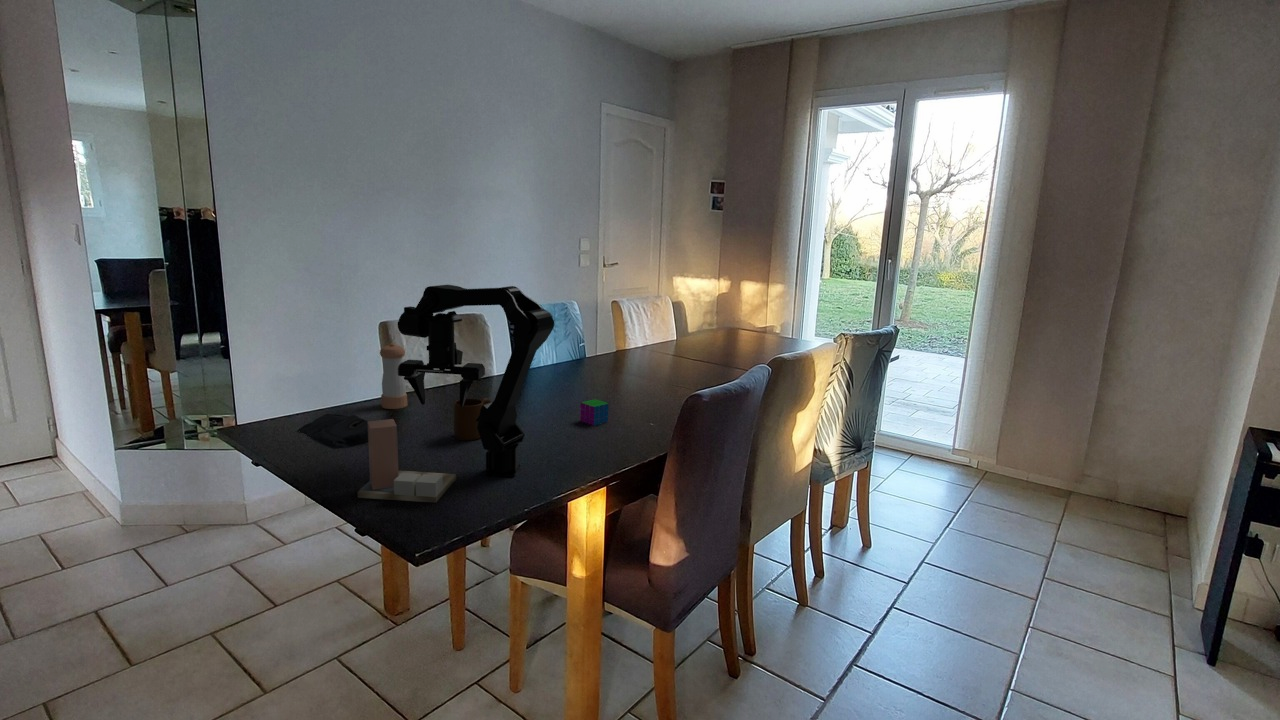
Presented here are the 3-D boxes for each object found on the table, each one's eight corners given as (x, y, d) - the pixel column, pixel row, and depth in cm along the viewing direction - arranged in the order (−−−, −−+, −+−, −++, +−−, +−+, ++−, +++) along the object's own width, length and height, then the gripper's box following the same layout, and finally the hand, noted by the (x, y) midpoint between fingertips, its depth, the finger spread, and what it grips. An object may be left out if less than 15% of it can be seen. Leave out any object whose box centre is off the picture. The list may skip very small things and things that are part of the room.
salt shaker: (376, 406, 186) (373, 343, 182) (393, 401, 193) (391, 340, 189) (395, 410, 184) (393, 346, 180) (412, 404, 191) (410, 342, 187)
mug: (479, 425, 174) (479, 393, 172) (501, 431, 170) (501, 397, 168) (447, 437, 163) (447, 402, 161) (469, 443, 160) (469, 407, 158)
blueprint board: (455, 479, 137) (455, 473, 137) (435, 502, 126) (435, 496, 125) (384, 474, 138) (384, 468, 138) (357, 497, 126) (357, 491, 126)
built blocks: (442, 489, 129) (442, 475, 129) (435, 497, 125) (435, 483, 125) (402, 486, 130) (402, 472, 129) (394, 494, 126) (393, 480, 125)
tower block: (395, 477, 133) (393, 418, 131) (398, 486, 129) (396, 425, 126) (370, 480, 131) (367, 421, 128) (372, 489, 127) (370, 428, 124)
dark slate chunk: (348, 419, 175) (347, 403, 174) (395, 437, 163) (395, 419, 162) (292, 432, 163) (291, 415, 162) (339, 452, 151) (338, 433, 150)
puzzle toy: (608, 422, 183) (608, 403, 181) (593, 426, 178) (594, 406, 177) (594, 417, 186) (595, 399, 185) (580, 421, 182) (580, 402, 181)
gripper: (491, 336, 151) (491, 398, 154) (415, 332, 152) (417, 394, 155) (477, 344, 140) (478, 411, 143) (395, 340, 141) (398, 406, 144)
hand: (442, 405), depth 147 cm, fingers open, 9 cm apart
